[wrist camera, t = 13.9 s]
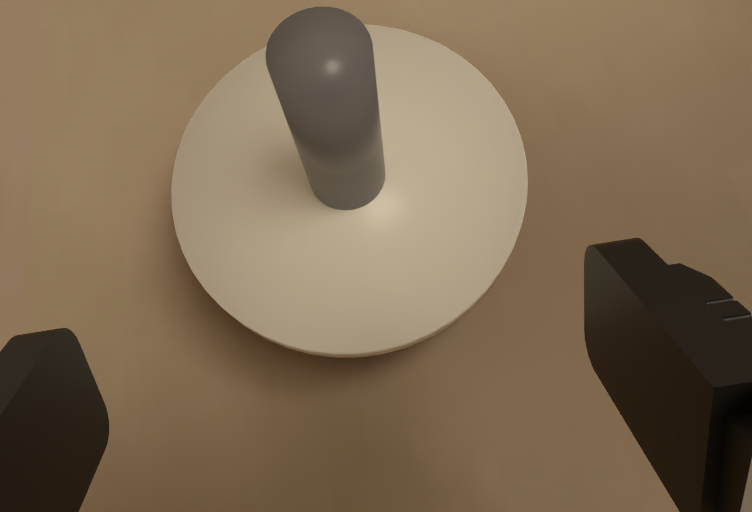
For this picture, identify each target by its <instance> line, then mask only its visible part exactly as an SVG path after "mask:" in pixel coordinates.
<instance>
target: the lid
mask: <svg viewBox="0 0 752 512" xmlns="http://www.w3.org/2000/svg"><path fill="white" fill-rule="evenodd" d="M527 190H528V174H527V161H526V156H525V151H524V147H523V142H522V138H521V136H520V133H519V130H518V128H517V125H516V123H515V120H514V118H513V116H512V114H511V112H510V111H509V109H508V107H507V105H506V103H505V102H504V100H503V99H502V97H501V96H500V95H499V93H498V92H497V91H496V89H495V88H494V87H493V85H492V84H491V83H490V82H489V81H488V80H487V79H486V78H485V77H484V76H483V75H482V74H481V73H480V72H479V71H478V70H477V69H476V68H475V67H474V66H473V65H471V64H470V63H469V62H468V61H466V60H465V59H464V58H462V57H461V56H460V55H458V54H457V53H455V52H453V51H452V50H450V49H448V48H447V47H445V46H443V45H441V44H439V43H437V42H435V41H432V40H430V39H428V38H426V37H424V36H421V35H417V34H414V33H411V32H408V31H405V30H401V29H396V28H390V27H385V26H377V25H364V24H363V23H362V22H361V21H360V20H359V19H357V18H356V17H355V16H353V15H352V14H350V13H348V12H346V11H344V10H340V9H337V8H332V7H314V8H308V9H305V10H302V11H299V12H297V13H295V14H293V15H291V16H289V17H288V18H286V19H285V20H284V21H283V22H281V23H280V24H279V25H278V26H277V28H276V29H275V30H274V32H273V33H272V35H271V37H270V38H269V41H268V44H267V46H266V47H264V48H263V49H261V50H259V51H257V52H255V53H254V54H252V55H251V56H249V57H248V58H246V59H245V60H243V61H242V62H240V63H239V64H238V65H237V66H236V67H234V68H233V69H232V70H231V71H230V72H228V73H227V74H226V75H225V76H224V77H223V78H222V79H221V80H220V81H219V82H218V83H217V84H216V85H215V86H214V87H213V89H212V90H211V91H210V92H209V93H208V94H207V96H206V97H205V98H204V100H203V101H202V103H201V104H200V105H199V107H198V108H197V109H196V111H195V113H194V115H193V117H192V118H191V120H190V122H189V124H188V126H187V128H186V130H185V132H184V135H183V137H182V140H181V143H180V145H179V148H178V152H177V156H176V160H175V164H174V168H173V177H172V186H171V199H172V214H173V219H174V225H175V230H176V234H177V237H178V240H179V243H180V246H181V249H182V252H183V254H184V256H185V258H186V260H187V262H188V264H189V266H190V268H191V270H192V272H193V273H194V275H195V276H196V278H197V279H198V280H199V282H200V283H201V285H202V286H203V287H204V289H205V290H206V291H207V292H208V294H209V295H210V296H211V297H212V298H213V299H214V300H215V301H216V302H217V303H218V304H219V305H220V306H221V307H222V308H223V309H224V310H225V311H227V312H228V313H229V314H230V315H231V316H233V317H234V318H235V319H236V320H238V321H239V322H240V323H242V324H243V325H244V326H245V327H247V328H248V329H250V330H251V331H253V332H255V333H257V334H258V335H260V336H262V337H263V338H265V339H267V340H269V341H271V342H274V343H276V344H279V345H281V346H283V347H286V348H288V349H292V350H296V351H299V352H303V353H307V354H311V355H318V356H326V357H334V358H357V357H367V356H374V355H381V354H386V353H390V352H393V351H397V350H401V349H404V348H408V347H410V346H412V345H415V344H417V343H419V342H422V341H424V340H427V339H429V338H431V337H433V336H434V335H436V334H438V333H439V332H441V331H443V330H444V329H446V328H448V327H450V326H451V325H452V324H454V323H455V322H456V321H457V320H459V319H460V318H461V317H462V316H464V315H465V314H466V313H468V312H469V311H470V310H471V309H472V308H473V307H474V306H475V305H476V304H477V303H478V302H479V301H480V300H481V299H482V298H483V296H484V295H485V294H486V293H487V292H488V290H489V289H490V288H491V286H492V285H493V284H494V282H495V281H496V279H497V278H498V277H499V275H500V273H501V271H502V270H503V268H504V266H505V264H506V262H507V260H508V258H509V257H510V254H511V252H512V250H513V248H514V245H515V242H516V240H517V237H518V234H519V232H520V229H521V226H522V222H523V218H524V213H525V208H526V204H527Z"/></svg>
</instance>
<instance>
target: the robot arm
mask: <svg viewBox="0 0 752 512" xmlns="http://www.w3.org/2000/svg"><path fill="white" fill-rule="evenodd" d="M584 332H585V341H586V347H587V351H588V355H589V359H590V361H591V364H592V366H593V369H594V371H595V372H596V374H597V376H598V377H599V379H600V381H601V382H602V384H603V386H604V387H605V389H606V391H607V392H608V394H609V396H610V397H611V399H612V401H613V402H614V404H615V405H616V407H617V409H618V410H619V412H620V414H621V415H622V417H623V419H624V420H625V422H626V424H627V425H628V427H629V429H630V430H631V432H632V434H633V435H634V437H635V439H636V440H637V442H638V443H639V445H640V447H641V448H642V450H643V452H644V453H645V455H646V457H647V458H648V460H649V462H650V463H651V465H652V467H653V468H654V470H655V472H656V473H657V475H658V477H659V478H660V480H661V481H662V483H663V485H664V486H665V488H666V490H667V491H668V493H669V495H670V496H671V498H672V500H673V501H674V503H675V505H676V506H677V508H678V510H679V511H680V512H752V317H751V313H750V312H749V311H748V310H747V309H746V308H745V307H744V306H743V305H741V304H740V303H739V302H738V301H734V300H733V296H731V295H730V294H729V293H728V292H727V291H726V290H725V289H724V288H723V287H722V286H720V285H719V284H718V283H717V282H716V281H715V280H714V279H713V278H712V277H709V276H707V275H705V274H703V273H700V272H698V271H696V270H694V269H692V268H689V267H687V266H685V265H683V264H680V263H678V264H672V265H667V264H666V263H665V262H664V261H663V260H662V259H661V258H660V257H659V256H658V255H657V254H656V253H655V252H654V251H653V250H652V249H651V248H650V247H649V246H648V245H647V244H646V243H645V242H644V241H643V240H642V239H640V238H632V239H626V240H620V241H613V242H607V243H601V244H594V245H590V246H588V247H587V249H586V252H585V258H584ZM108 436H109V419H108V413H107V409H106V406H105V403H104V401H103V399H102V396H101V394H100V391H99V389H98V387H97V384H96V382H95V379H94V377H93V375H92V372H91V370H90V367H89V365H88V363H87V360H86V358H85V355H84V353H83V351H82V348H81V346H80V343H79V341H78V339H77V337H76V336H75V334H74V333H73V332H72V331H71V330H69V329H67V328H60V329H54V330H47V331H41V332H35V333H29V334H22V335H17V336H14V337H13V338H11V339H10V340H9V341H8V343H7V344H6V345H5V347H4V348H3V349H2V351H1V352H0V512H79V509H80V507H81V505H82V502H83V500H84V498H85V495H86V493H87V491H88V488H89V486H90V484H91V481H92V479H93V477H94V474H95V472H96V470H97V467H98V465H99V463H100V460H101V458H102V455H103V453H104V451H105V448H106V446H107V442H108Z"/></svg>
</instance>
